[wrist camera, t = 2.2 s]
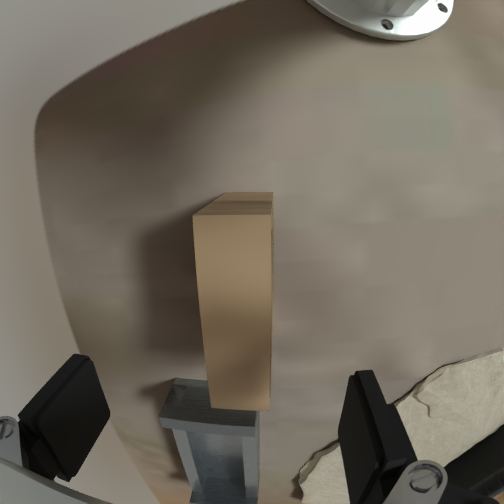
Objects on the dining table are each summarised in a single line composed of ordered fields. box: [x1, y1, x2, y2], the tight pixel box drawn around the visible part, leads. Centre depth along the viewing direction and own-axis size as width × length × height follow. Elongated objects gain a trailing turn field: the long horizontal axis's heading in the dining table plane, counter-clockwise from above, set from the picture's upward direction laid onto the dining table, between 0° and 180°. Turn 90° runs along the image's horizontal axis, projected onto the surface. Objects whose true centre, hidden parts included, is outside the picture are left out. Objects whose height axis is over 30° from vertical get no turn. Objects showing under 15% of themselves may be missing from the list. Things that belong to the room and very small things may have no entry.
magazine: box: [443, 424, 504, 498], centre depth 23 cm, size 17×3×30 cm
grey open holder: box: [159, 378, 259, 504], centre depth 24 cm, size 16×7×5 cm, turn 1°
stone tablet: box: [298, 348, 504, 504], centre depth 25 cm, size 16×30×2 cm, turn 134°
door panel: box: [192, 192, 273, 411], centre depth 17 cm, size 10×3×8 cm, turn 1°
